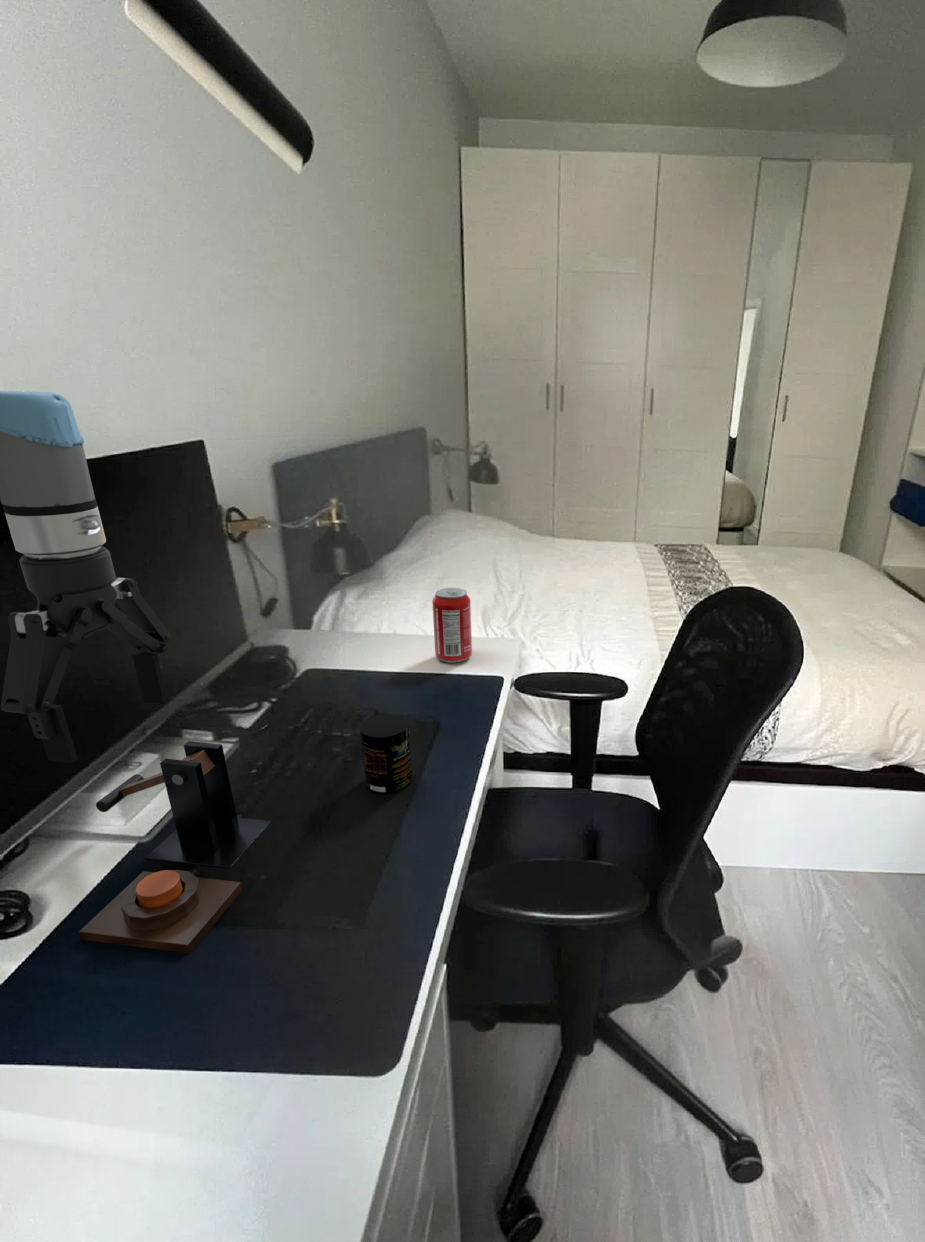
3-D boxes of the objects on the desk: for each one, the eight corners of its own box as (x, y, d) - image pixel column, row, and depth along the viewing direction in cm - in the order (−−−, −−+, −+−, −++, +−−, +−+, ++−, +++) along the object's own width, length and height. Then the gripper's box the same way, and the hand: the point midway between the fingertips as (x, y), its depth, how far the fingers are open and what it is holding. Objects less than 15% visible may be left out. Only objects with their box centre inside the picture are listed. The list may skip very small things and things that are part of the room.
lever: (103, 816, 78) (90, 800, 78) (139, 788, 84) (128, 773, 83) (192, 785, 75) (180, 768, 74) (224, 757, 81) (214, 741, 80)
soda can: (446, 668, 135) (443, 600, 129) (428, 656, 141) (425, 590, 135) (478, 659, 140) (477, 593, 134) (460, 648, 145) (458, 584, 140)
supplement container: (420, 776, 98) (416, 716, 94) (403, 802, 92) (397, 739, 88) (378, 771, 99) (372, 711, 95) (358, 797, 93) (350, 734, 89)
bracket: (146, 865, 79) (119, 769, 73) (195, 819, 87) (175, 730, 82) (231, 875, 78) (210, 778, 72) (273, 828, 86) (257, 738, 81)
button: (129, 907, 68) (126, 894, 67) (157, 880, 72) (153, 867, 71) (165, 911, 68) (161, 898, 67) (191, 884, 71) (187, 871, 71)
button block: (84, 947, 67) (73, 918, 66) (147, 885, 76) (139, 858, 74) (191, 961, 66) (184, 931, 65) (244, 896, 75) (238, 869, 73)
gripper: (-22, 587, 55) (48, 794, 63) (181, 527, 78) (213, 685, 86) (-100, 581, 56) (-21, 787, 64) (124, 524, 79) (161, 680, 87)
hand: (113, 728), depth 75 cm, fingers open, 13 cm apart
